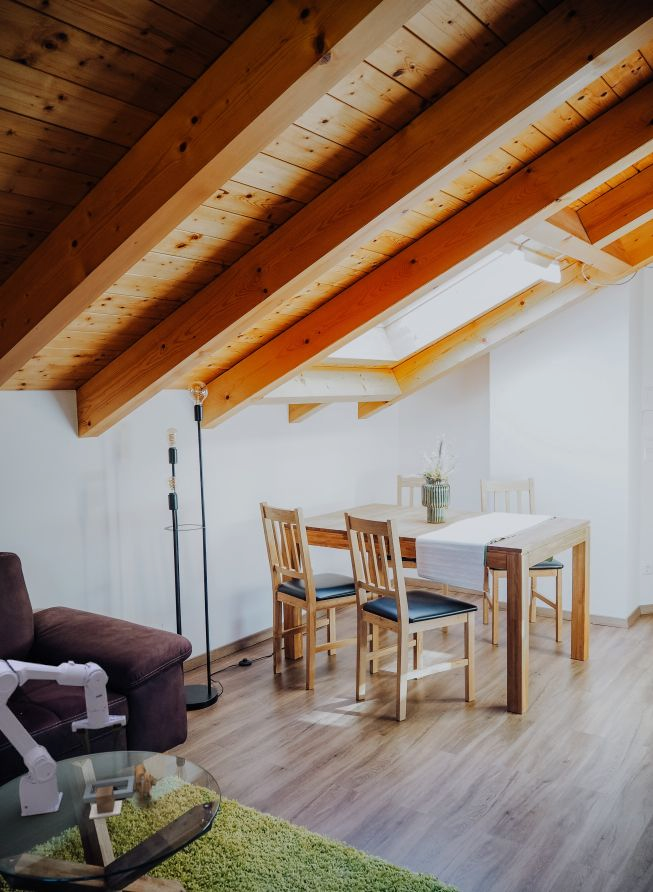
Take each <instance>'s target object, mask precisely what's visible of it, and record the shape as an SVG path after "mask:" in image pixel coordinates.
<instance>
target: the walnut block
mask: <svg viewBox="0 0 653 892" xmlns="http://www.w3.org/2000/svg"><path fill="white" fill-rule="evenodd" d="M96 790H97V791H96V793H97V794H96V802H95V804H97V813H98V814H100V813H107V812H113V809H114V804H115V801H116V799H114V791H115V790H114V787H113V786H108V787H101V788H98V789H96Z"/></svg>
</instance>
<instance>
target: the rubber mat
mask: <svg viewBox="0 0 653 892" xmlns="http://www.w3.org/2000/svg"><path fill="white" fill-rule="evenodd" d="M122 806H123V799H122V800H120V799H119V800H115V804H114V809H113V812H107V813H100V814H98V813H97V804H96V803H94V804H91V808H90V812H89V820H95V819H101V818H108V817H115V816H120V815H121V812H122V808H123V807H122Z"/></svg>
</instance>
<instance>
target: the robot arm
mask: <svg viewBox="0 0 653 892" xmlns="http://www.w3.org/2000/svg"><path fill="white" fill-rule="evenodd" d="M107 675H108V674H107V673H106V671H105V670H104V669H103V668H102V667H101V666H100V665H99V664H97V663H95V662H92V661H89V662H87V663H85V664H81V663H79V664H78V663H75V662H74V660H68V662H62V663H61V664H60V665H58V666H54V665H45V664H41V663H33V662H25V661H20V660H14V659H7V660H6V661H5V660H3V659H0V731H1V732H2V733H3V735H4V736H5V737H6V738H7V740H8V741H9V742H10V743H11V744H12V746H14V748H15V749H16V750H17V751H18V753H19V754H20V756H21V757H22V758H23V763H24V765H25V766H26V767H27V768H28V772H27V775H24V776H21V778H20V781H19V786H18V787H19V788H18V789H19V790H18V791H19V792H18V794H19V801H20V807H21V808H20V809H21V814H20V815H21V817H26V816H33V815H40V814H49V813H54V812H57V811H59V809H60V804H61V802H62V799H63V795H64V792H61V791H60V792H59V788H58V779H57V771H58V765H57V762H56V760H54V758H52V756H51V755H50V753H49V752H48V750H47V749H46V747H45V746H43V745H40V744H38V743H37V742H36V740H34V738H33V737H32V735H30V734H29V732H28V731H27V729H25V728H24V726H23V725H22V724H21V722H20V721H19V720H18V718H17V717H16V716H15V714H14V713H13V712H12V711H11V710H10V708H9V707H8V706H7V702H8V699H10V697H11V695H12V694H13V693H14V692H15V690H16V688H17V687H18V686H19V687H22V686H23V685H24V684H25V683H26V682H28V680H54V681H55V680H56V682H57V683H58V684H59V685H60V686H61V685H63V686H76V687H84V698H85V706H86V707H85V708H86V716H87V718H85V719H81V720H76V721H73V722H72V723H71V731H72V732H73V733H74V732H75V735H76V738H77V739H78V740H79V741H80V743H81V745H82V746H83V748H84V750H85V751H84V752H85V754H86V755H89V754H90V751H91V746H90V741H89V729H92V730H97V729H102V728H105V727H112V728H111V734H112V739H113V751H117V750H118V748H119V747H118V742H119V741H118V740H119V736H120V734H121V731H122V726H126V724H127V723H126V722H127V721H126V715H111V714H110V713H109V704H108V695H107V688H106V685H107V683H108V680H109V675H108V676H107ZM109 714H110V715H109Z"/></svg>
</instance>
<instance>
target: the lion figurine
mask: <svg viewBox="0 0 653 892" xmlns="http://www.w3.org/2000/svg"><path fill="white" fill-rule="evenodd" d="M133 773H134V774H133V776H134V778H135V786H134V791H135V792H136V793H137V798H138V801H137V802H138V804H141V803H143V801H144V798H143V796H142V795H144V794H145V795H146V796H145V797H146V798H147V799H148V800H150V799H152V798H153V796H152V795H151V794H150V793H151V790H153V789H152V788H153V787H156V786H157V785H156V784H157V782H158V778H155V777H154V776H153V775H152V774H151V772H149V771H147V770H146V767H145V765H144V764H140V763H139V764H138V765H136V766H135V769H134V772H133Z"/></svg>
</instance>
